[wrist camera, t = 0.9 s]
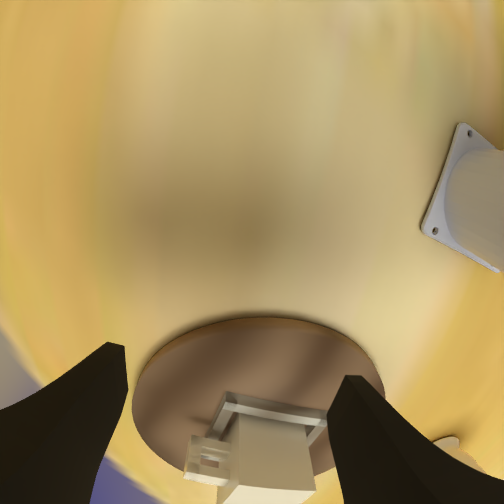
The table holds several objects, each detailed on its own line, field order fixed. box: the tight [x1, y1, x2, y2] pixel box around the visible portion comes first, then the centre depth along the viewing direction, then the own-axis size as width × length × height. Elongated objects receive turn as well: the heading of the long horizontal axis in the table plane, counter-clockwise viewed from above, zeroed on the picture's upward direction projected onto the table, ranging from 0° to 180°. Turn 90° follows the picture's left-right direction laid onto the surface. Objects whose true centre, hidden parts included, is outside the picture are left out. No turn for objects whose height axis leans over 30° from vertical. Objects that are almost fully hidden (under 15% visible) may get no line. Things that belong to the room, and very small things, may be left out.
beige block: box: [183, 412, 316, 504], centre depth 18 cm, size 8×5×6 cm, turn 70°
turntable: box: [132, 317, 385, 476], centre depth 20 cm, size 20×20×4 cm
